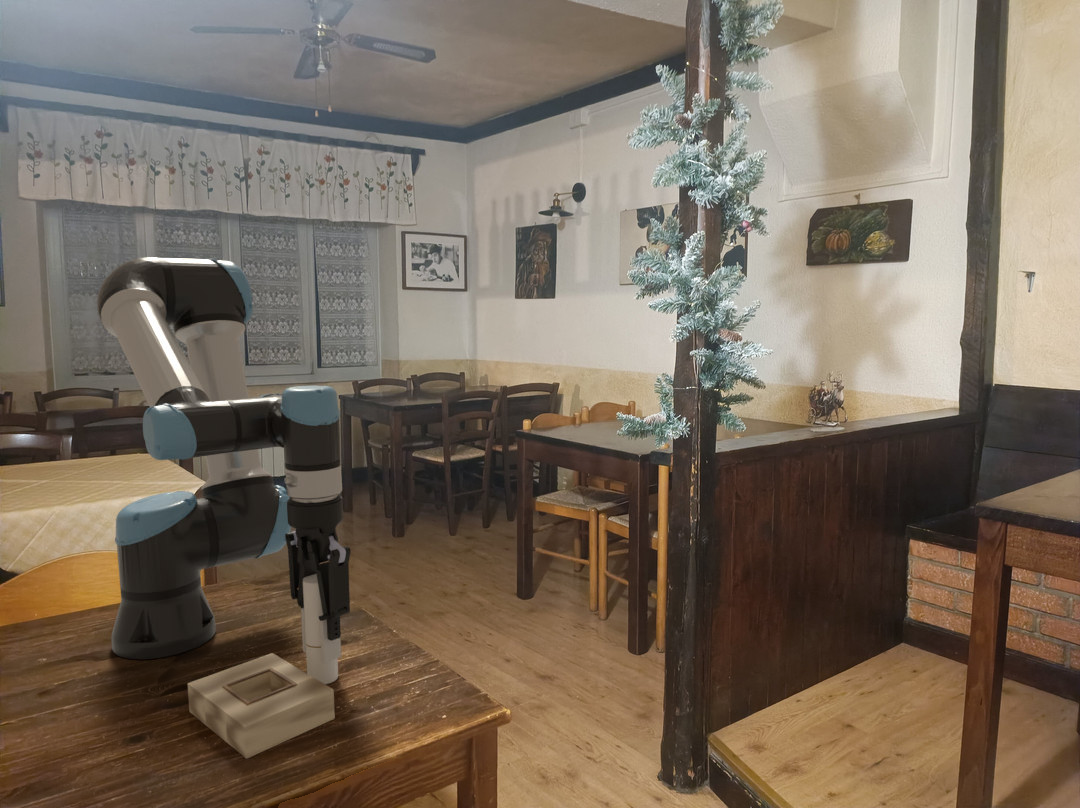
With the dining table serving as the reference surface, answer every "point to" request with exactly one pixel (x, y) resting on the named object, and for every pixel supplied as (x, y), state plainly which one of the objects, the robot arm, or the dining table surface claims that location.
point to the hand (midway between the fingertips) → (321, 653)
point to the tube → (315, 634)
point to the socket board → (260, 703)
